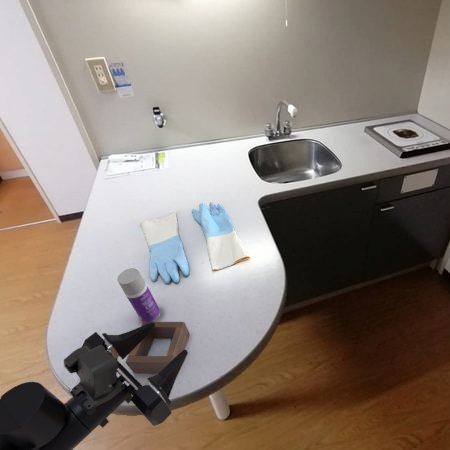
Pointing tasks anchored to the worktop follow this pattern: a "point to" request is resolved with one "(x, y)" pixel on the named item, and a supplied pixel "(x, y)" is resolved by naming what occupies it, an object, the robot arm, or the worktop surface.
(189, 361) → the worktop surface
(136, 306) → the container
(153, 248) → the rubber gloves
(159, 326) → the frame
